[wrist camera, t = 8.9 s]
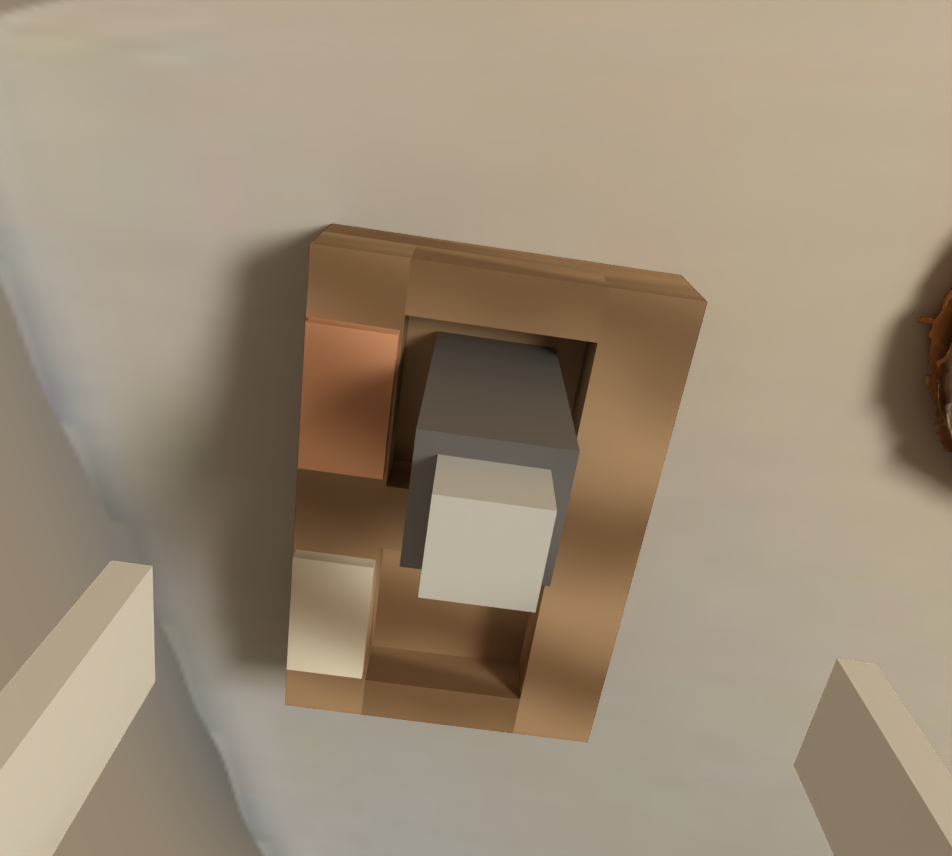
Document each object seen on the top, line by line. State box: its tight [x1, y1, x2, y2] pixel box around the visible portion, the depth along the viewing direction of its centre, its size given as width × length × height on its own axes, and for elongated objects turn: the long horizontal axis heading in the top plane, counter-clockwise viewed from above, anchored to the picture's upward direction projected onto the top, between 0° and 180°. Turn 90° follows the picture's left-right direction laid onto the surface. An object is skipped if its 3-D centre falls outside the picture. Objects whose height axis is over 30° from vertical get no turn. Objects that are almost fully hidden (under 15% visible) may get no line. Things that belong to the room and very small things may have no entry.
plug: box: [399, 331, 580, 612], centre depth 22 cm, size 4×4×10 cm
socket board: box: [285, 224, 707, 742], centre depth 28 cm, size 18×12×4 cm, turn 172°
